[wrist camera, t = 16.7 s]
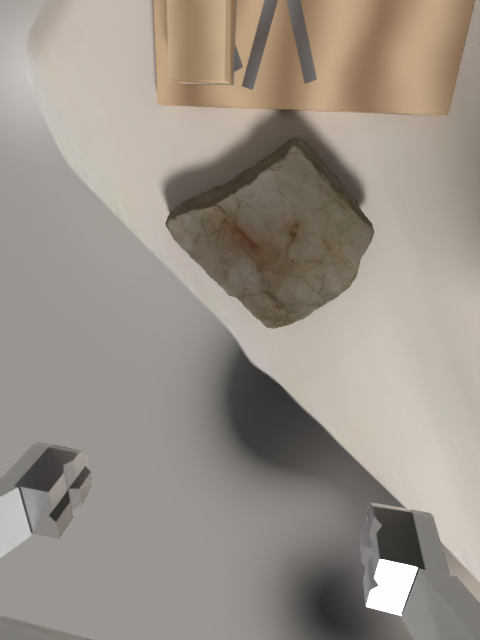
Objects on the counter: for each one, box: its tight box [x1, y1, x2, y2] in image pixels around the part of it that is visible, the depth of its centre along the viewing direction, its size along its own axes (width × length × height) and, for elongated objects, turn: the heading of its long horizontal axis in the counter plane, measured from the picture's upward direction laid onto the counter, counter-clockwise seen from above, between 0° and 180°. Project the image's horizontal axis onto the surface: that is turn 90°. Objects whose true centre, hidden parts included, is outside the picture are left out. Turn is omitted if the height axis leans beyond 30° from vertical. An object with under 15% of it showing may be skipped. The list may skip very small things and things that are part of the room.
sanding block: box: [167, 0, 236, 85], centre depth 30 cm, size 4×7×4 cm, turn 178°
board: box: [153, 0, 475, 116], centre depth 32 cm, size 24×10×2 cm, turn 88°
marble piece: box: [166, 138, 374, 328], centre depth 38 cm, size 17×15×4 cm
